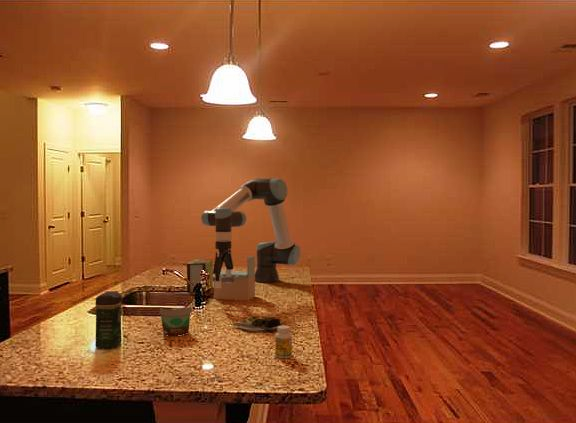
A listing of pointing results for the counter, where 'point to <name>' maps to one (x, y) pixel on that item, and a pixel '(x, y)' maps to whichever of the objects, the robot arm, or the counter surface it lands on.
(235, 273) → the flap
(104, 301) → the coffee jar
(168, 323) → the food container
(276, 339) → the supplement bottle
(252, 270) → the carton
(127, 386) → the counter surface
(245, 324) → the salad plate
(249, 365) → the counter surface
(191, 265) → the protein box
